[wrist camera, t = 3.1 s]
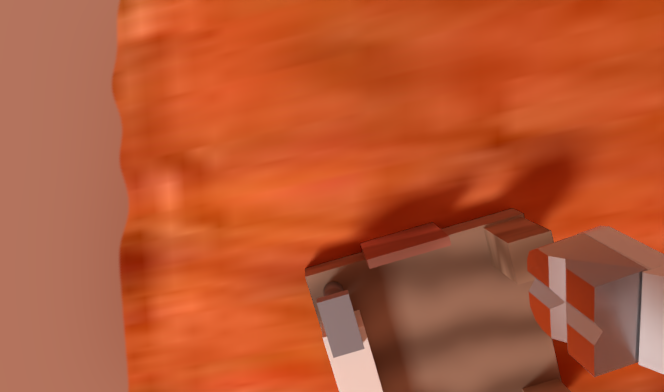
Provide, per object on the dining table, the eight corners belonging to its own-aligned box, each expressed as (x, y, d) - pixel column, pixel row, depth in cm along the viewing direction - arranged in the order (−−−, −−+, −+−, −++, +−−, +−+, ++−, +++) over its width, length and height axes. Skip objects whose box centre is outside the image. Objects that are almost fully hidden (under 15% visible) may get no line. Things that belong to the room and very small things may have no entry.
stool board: (555, 398, 51) (601, 450, 43) (362, 455, 51) (372, 517, 43) (510, 199, 47) (551, 216, 39) (302, 259, 47) (302, 288, 39)
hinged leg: (310, 285, 45) (311, 304, 40) (349, 274, 45) (354, 292, 40) (355, 432, 47) (360, 465, 43) (391, 421, 47) (401, 454, 43)
